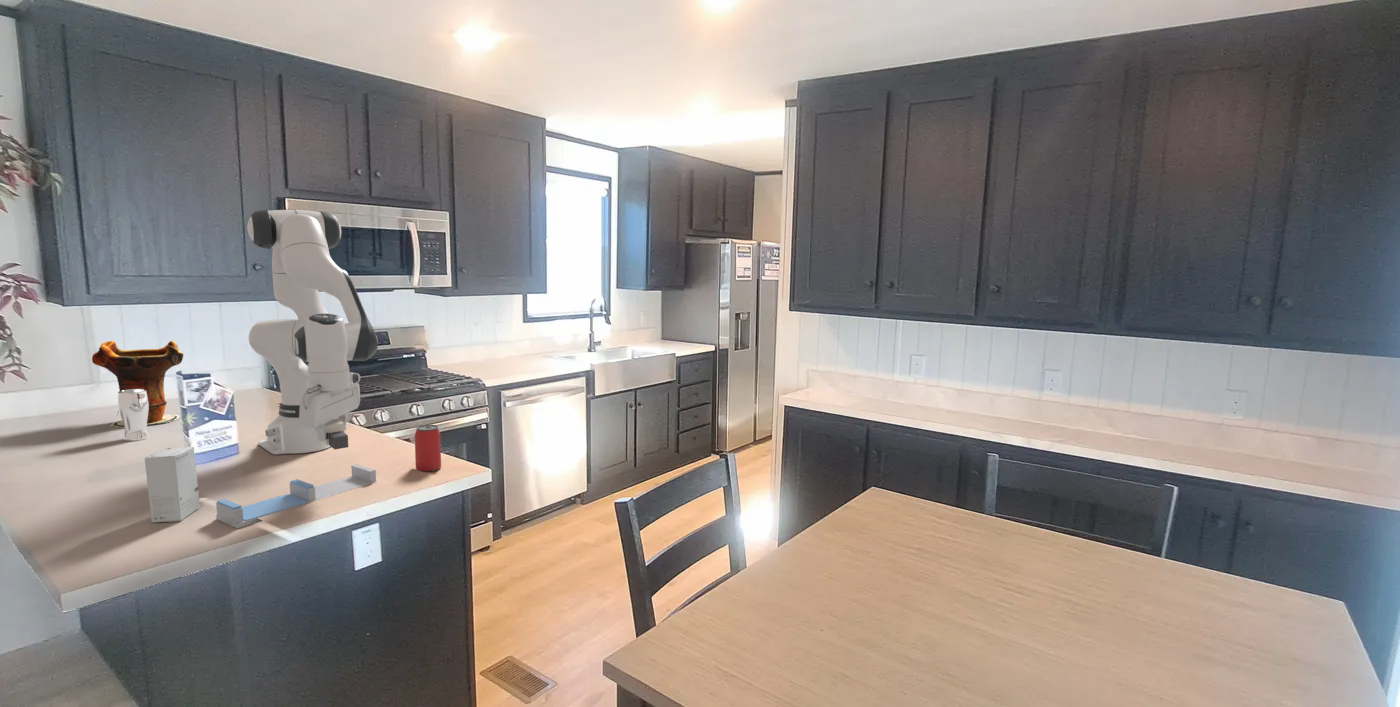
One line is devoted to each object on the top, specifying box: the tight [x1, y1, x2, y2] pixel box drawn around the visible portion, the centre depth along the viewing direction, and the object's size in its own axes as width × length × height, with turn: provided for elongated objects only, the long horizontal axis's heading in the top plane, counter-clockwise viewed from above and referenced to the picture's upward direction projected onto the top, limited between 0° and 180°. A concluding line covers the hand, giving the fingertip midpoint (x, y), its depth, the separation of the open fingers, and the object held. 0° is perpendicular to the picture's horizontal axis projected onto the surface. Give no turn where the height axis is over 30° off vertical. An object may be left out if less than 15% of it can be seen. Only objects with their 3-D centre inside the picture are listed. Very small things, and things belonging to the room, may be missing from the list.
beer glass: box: [117, 389, 151, 442], centre depth 198 cm, size 7×7×15 cm
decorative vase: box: [91, 340, 184, 429], centre depth 217 cm, size 21×23×28 cm
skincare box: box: [144, 446, 201, 523], centre depth 143 cm, size 8×6×15 cm
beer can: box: [414, 424, 442, 473], centre depth 179 cm, size 7×7×12 cm
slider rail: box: [215, 463, 378, 530], centre depth 154 cm, size 9×32×4 cm, turn 150°
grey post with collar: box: [322, 418, 349, 450], centre depth 159 cm, size 14×4×5 cm, turn 44°
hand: (332, 435), depth 160 cm, fingers closed on grey post with collar, 6 cm apart
